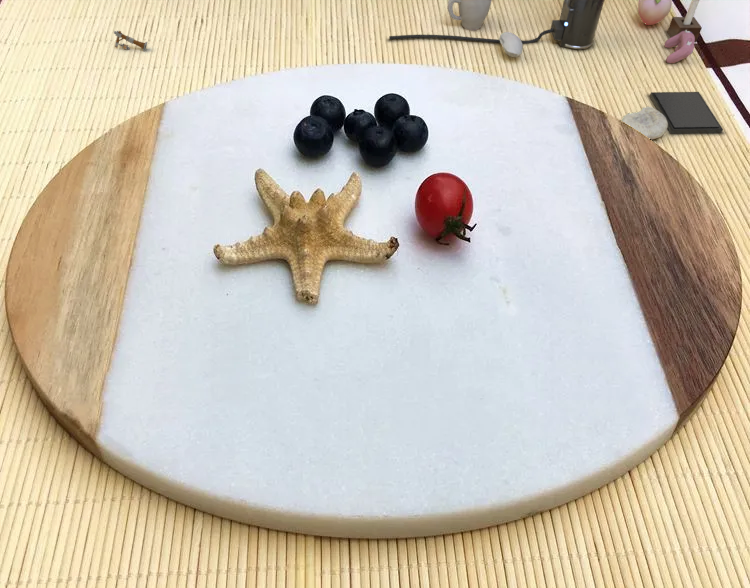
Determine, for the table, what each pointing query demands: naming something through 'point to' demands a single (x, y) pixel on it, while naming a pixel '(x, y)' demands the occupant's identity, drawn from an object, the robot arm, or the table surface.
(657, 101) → the tablet
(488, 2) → the mug
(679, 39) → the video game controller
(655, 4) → the decorative fruit
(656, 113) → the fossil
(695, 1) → the stylus
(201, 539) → the table surface
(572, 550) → the table surface
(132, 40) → the wooden post with brackets
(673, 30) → the pen block
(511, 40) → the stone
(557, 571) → the table surface
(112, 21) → the table surface
